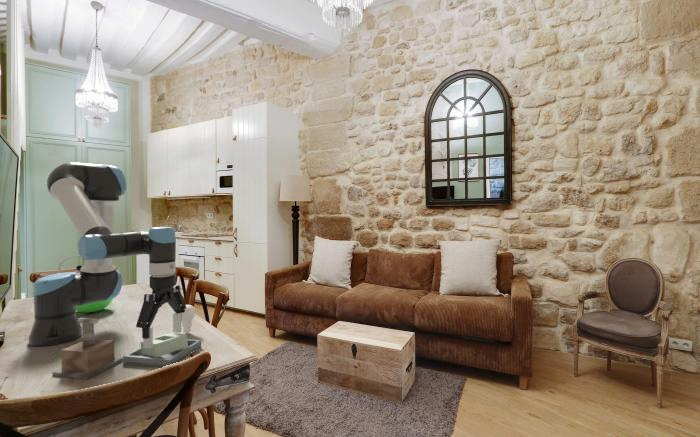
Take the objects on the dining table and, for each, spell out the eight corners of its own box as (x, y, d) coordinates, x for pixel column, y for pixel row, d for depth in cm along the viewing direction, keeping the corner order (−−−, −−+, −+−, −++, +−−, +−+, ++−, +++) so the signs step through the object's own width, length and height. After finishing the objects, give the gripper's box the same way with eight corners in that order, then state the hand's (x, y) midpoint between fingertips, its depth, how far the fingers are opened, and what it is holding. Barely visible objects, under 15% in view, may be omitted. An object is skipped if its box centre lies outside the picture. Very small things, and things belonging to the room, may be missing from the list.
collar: (188, 346, 116) (186, 334, 116) (156, 357, 108) (155, 344, 108) (172, 344, 122) (171, 332, 122) (141, 354, 114) (140, 341, 114)
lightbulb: (176, 337, 131) (176, 307, 131) (179, 331, 137) (179, 303, 137) (194, 335, 133) (194, 306, 132) (197, 330, 139) (196, 302, 138)
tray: (123, 364, 109) (123, 356, 109) (159, 344, 125) (159, 337, 125) (169, 368, 106) (169, 360, 106) (201, 347, 122) (201, 340, 122)
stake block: (52, 375, 102) (50, 324, 101) (90, 357, 113) (88, 311, 113) (88, 379, 100) (86, 326, 99) (122, 360, 111) (121, 313, 111)
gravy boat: (122, 307, 170) (121, 276, 169) (93, 318, 153) (92, 284, 153) (87, 306, 172) (86, 275, 171) (55, 317, 155) (54, 283, 154)
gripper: (144, 284, 102) (145, 356, 103) (196, 268, 126) (196, 327, 127) (121, 282, 103) (122, 354, 104) (177, 267, 127) (178, 325, 128)
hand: (163, 339), depth 115 cm, fingers open, 13 cm apart
